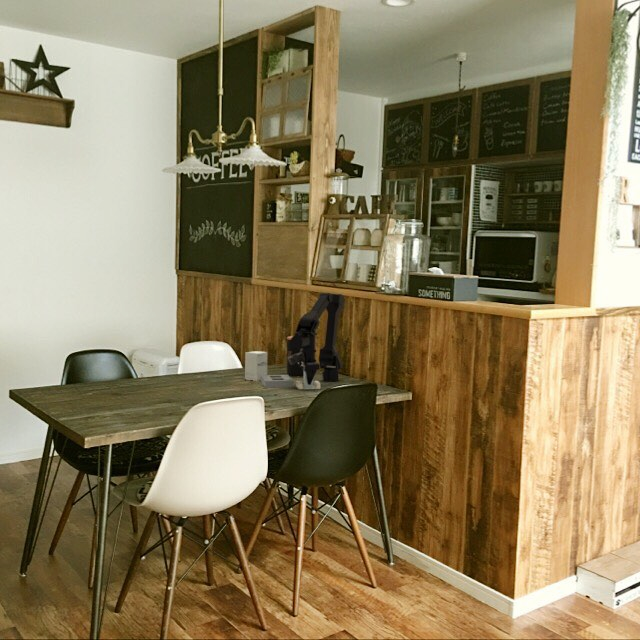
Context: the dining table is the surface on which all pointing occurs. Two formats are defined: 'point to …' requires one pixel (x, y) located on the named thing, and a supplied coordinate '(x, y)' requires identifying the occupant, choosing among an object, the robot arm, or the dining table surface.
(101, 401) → the dining table surface
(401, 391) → the dining table surface
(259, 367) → the supplement box
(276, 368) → the dining table surface
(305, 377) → the plug
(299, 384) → the holster
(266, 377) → the port panel
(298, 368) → the coffee jar
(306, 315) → the robot arm
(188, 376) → the dining table surface
